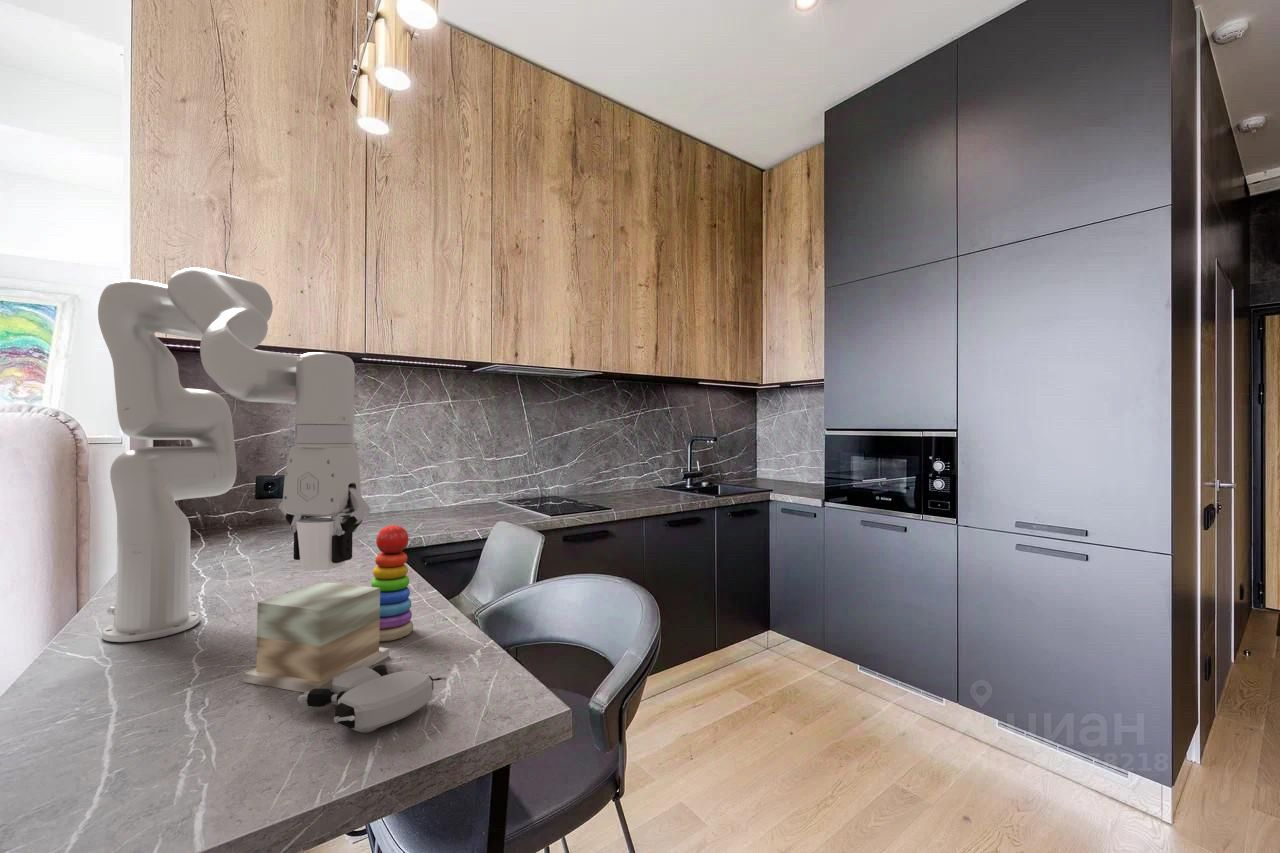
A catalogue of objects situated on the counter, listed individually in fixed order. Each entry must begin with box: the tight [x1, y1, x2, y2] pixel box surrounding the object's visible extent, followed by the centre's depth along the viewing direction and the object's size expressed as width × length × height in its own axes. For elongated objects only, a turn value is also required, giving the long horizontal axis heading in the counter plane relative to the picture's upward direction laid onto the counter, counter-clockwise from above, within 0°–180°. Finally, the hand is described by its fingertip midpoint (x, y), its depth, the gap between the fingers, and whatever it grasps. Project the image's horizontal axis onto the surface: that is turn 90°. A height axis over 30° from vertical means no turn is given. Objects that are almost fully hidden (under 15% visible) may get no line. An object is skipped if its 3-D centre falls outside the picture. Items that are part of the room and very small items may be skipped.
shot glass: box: [297, 516, 347, 572], centre depth 80 cm, size 7×7×7 cm
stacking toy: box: [370, 524, 414, 642], centre depth 93 cm, size 8×8×19 cm
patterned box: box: [243, 581, 390, 694], centre depth 80 cm, size 13×13×11 cm
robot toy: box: [296, 664, 448, 734], centre depth 68 cm, size 12×4×15 cm
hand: (323, 558), depth 80 cm, fingers closed on shot glass, 6 cm apart
